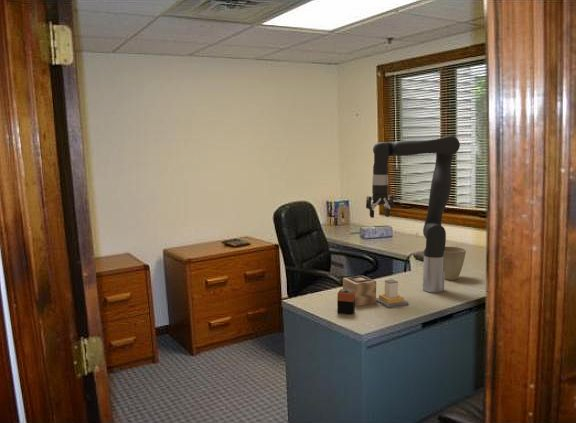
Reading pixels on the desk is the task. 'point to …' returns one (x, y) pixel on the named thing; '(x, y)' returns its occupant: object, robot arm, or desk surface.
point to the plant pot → (453, 262)
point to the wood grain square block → (361, 289)
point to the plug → (391, 289)
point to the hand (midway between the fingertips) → (379, 217)
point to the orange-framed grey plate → (391, 301)
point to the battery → (346, 302)
